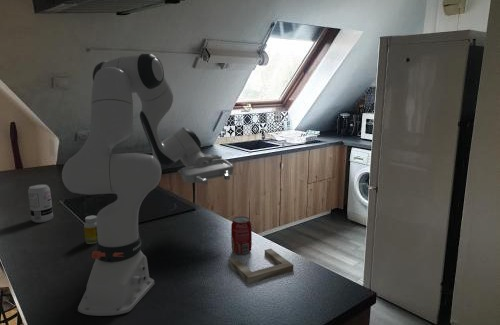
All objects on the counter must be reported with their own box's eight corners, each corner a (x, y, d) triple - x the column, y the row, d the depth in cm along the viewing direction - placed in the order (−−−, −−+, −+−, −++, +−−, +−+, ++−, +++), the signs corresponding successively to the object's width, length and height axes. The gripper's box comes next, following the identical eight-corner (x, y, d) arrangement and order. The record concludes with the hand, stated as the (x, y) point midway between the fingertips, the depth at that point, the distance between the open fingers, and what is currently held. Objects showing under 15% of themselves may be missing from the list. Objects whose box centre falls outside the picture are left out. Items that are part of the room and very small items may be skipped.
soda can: (240, 245, 135) (240, 214, 133) (255, 250, 131) (255, 218, 128) (227, 252, 130) (226, 219, 127) (242, 258, 126) (242, 224, 123)
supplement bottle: (88, 238, 142) (86, 214, 140) (103, 238, 142) (100, 214, 140) (83, 244, 137) (80, 219, 135) (98, 244, 137) (95, 219, 135)
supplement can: (32, 218, 163) (27, 185, 160) (53, 215, 167) (49, 183, 164) (31, 224, 156) (26, 190, 153) (53, 221, 160) (49, 187, 157)
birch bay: (293, 270, 117) (293, 264, 116) (248, 283, 109) (248, 277, 109) (270, 253, 129) (270, 248, 128) (228, 264, 121) (228, 258, 121)
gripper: (175, 162, 140) (190, 178, 130) (223, 154, 151) (240, 167, 140) (176, 177, 143) (190, 193, 133) (223, 168, 153) (239, 182, 143)
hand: (216, 180), depth 136 cm, fingers open, 8 cm apart
